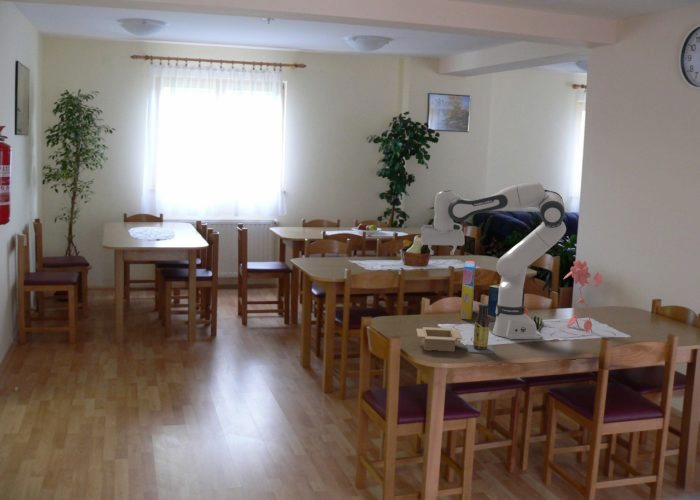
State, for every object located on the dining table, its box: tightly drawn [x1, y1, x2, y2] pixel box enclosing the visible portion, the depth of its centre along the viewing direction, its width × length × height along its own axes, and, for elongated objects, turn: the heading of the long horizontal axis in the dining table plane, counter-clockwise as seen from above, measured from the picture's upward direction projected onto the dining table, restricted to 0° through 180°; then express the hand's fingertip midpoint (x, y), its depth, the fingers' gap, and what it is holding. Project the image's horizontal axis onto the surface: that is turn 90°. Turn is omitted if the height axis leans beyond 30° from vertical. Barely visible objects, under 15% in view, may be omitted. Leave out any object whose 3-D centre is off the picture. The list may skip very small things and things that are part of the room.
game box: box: [459, 260, 477, 320], centre depth 385 cm, size 21×6×27 cm, turn 168°
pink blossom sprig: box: [558, 259, 603, 337], centre depth 361 cm, size 15×26×35 cm, turn 26°
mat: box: [465, 343, 496, 355], centre depth 324 cm, size 11×11×1 cm
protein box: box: [487, 283, 526, 318], centre depth 387 cm, size 10×15×16 cm
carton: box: [415, 326, 463, 352], centre depth 326 cm, size 19×19×6 cm
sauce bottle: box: [472, 302, 490, 350], centre depth 323 cm, size 7×6×20 cm
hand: (442, 254), depth 347 cm, fingers open, 8 cm apart
